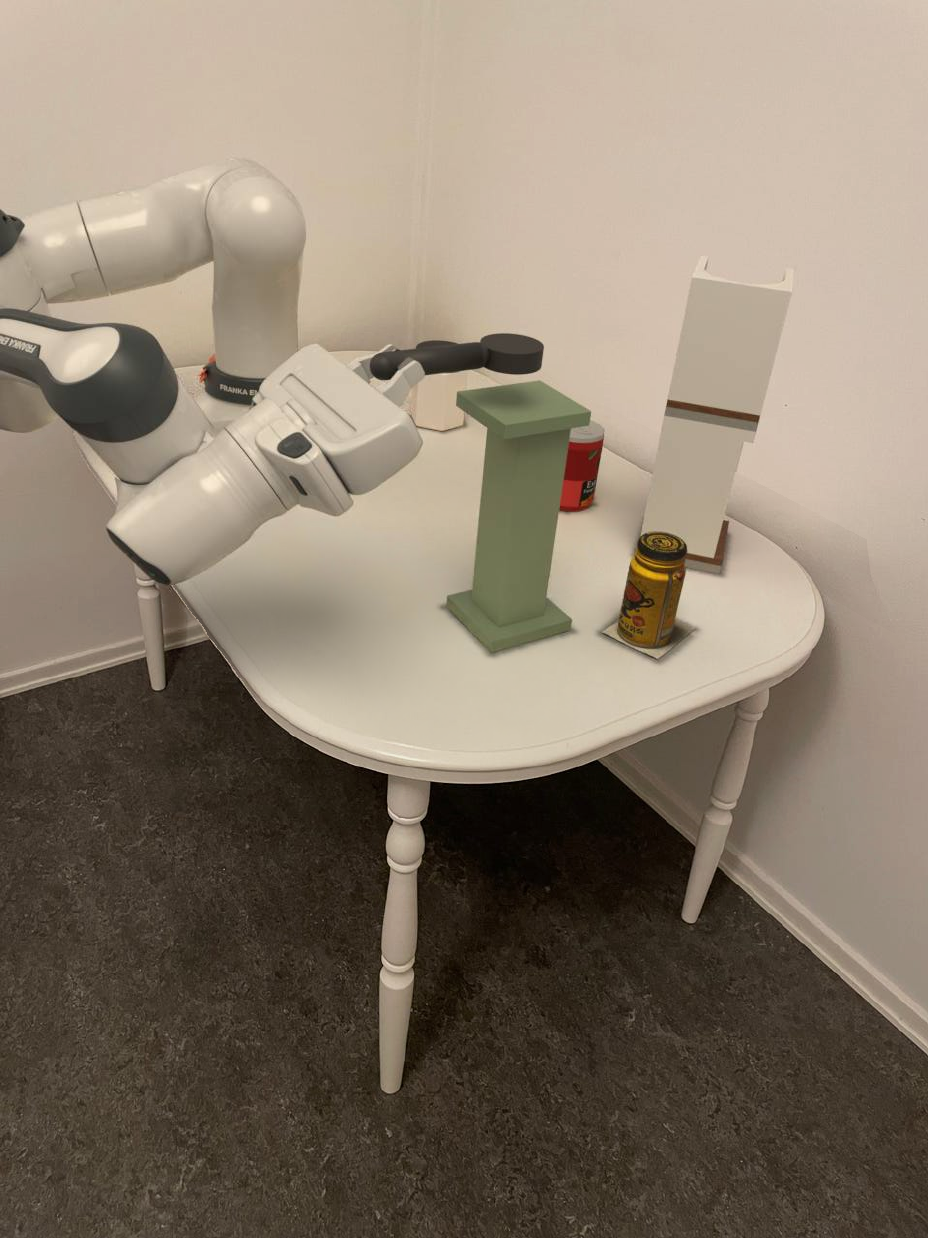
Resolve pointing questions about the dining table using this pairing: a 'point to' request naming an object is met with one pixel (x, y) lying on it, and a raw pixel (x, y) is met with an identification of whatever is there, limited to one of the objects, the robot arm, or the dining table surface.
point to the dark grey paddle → (468, 357)
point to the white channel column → (713, 407)
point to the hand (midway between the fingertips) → (409, 358)
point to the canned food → (582, 467)
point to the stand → (517, 512)
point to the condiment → (653, 596)
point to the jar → (438, 397)
